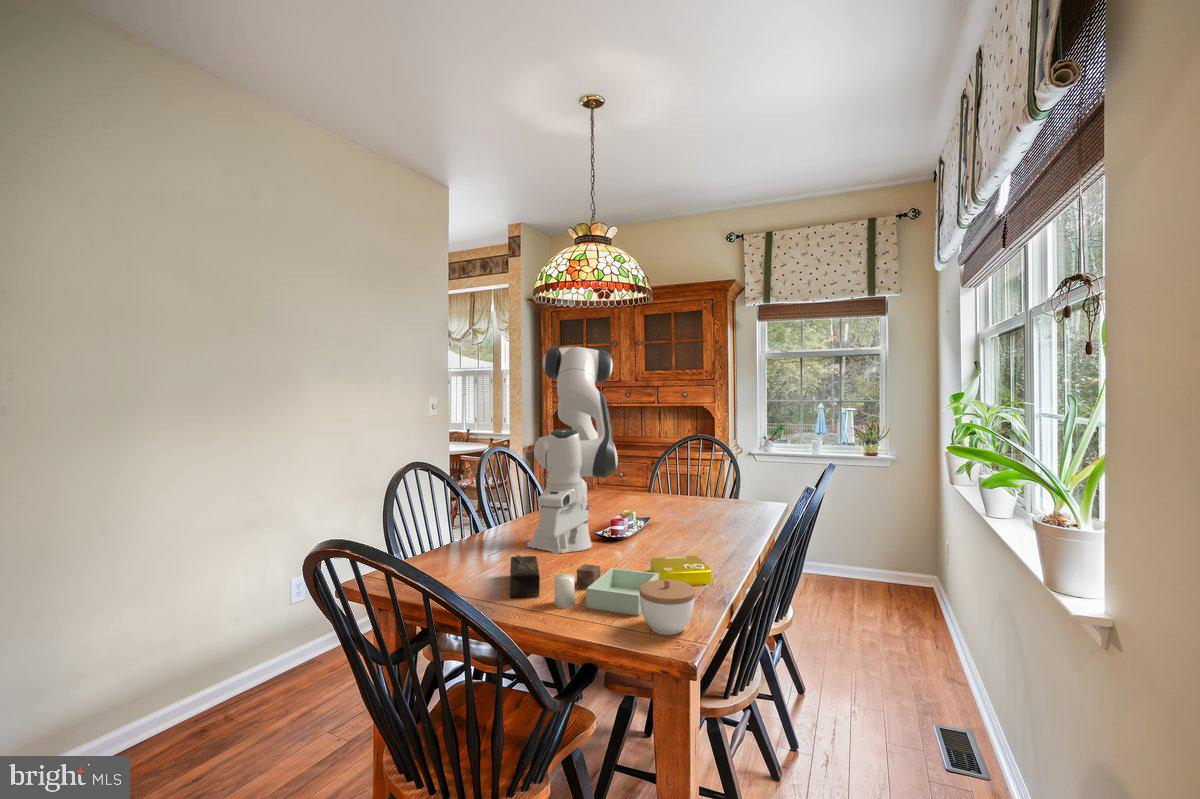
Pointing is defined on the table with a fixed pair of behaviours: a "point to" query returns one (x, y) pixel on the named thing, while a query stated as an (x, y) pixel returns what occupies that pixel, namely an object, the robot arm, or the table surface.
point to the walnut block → (587, 575)
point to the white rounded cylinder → (564, 590)
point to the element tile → (682, 569)
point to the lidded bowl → (667, 605)
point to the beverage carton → (524, 577)
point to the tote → (618, 591)
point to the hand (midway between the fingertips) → (564, 548)
